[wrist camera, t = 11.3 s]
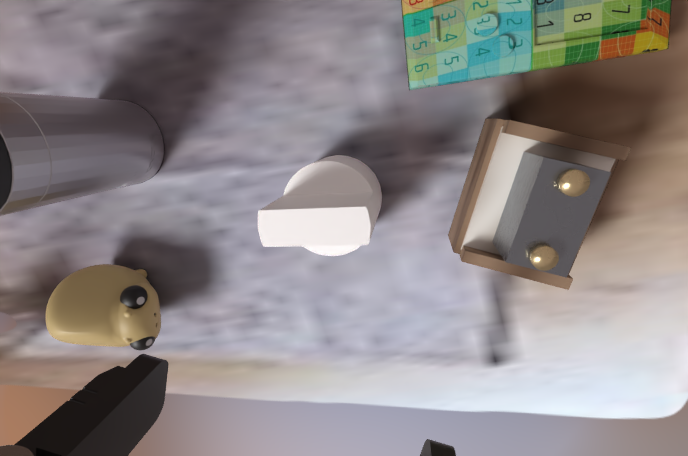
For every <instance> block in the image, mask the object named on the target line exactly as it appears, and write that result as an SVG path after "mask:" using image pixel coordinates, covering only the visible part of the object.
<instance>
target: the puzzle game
mask: <svg viewBox="0 0 688 456" xmlns="http://www.w3.org/2000/svg"><path fill="white" fill-rule="evenodd" d="M671 1H672V0H401V5H402V17H403V28H404V39H405V50H406V61H407V72H408V83H409V90H414V89H421V88H427V87H433V86H440V85H446V84H453V83H459V82H465V81H472V80H478V79H484V78H491V77H497V76H504V75H510V74H516V73H523V72H529V71H535V70H542V69H548V68H555V67H561V66H567V65H574V64H580V63H586V62H593V61H599V60H606V59H612V58H618V57H625V56H631V55H638V54H644V53H650V52H656V51H661V50H665V49H668V45H669V30H670V16H671Z"/></svg>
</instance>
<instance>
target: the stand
mask: <svg viewBox="0 0 688 456" xmlns="http://www.w3.org/2000/svg"><path fill="white" fill-rule="evenodd" d="M630 150H631V147H627V146H623V145H618V144H614V143H609V142H605V141H600V140H596V139H592V138H587V137H583V136H578V135H574V134H570V133H565V132H561V131H556V130H552V129H547V128H543V127H539V126H534V125H530V124H525V123H521V122H517V121H512V120H502V119H485V122H484V125H483V128H482V131H481V134H480V138H479V141H478V144H477V147H476V150H475V153H474V156H473V159H472V162H471V166H470V169H469V172H468V175H467V178H466V181H465V184H464V187H463V190H462V194H461V197H460V200H459V203H458V206H457V209H456V212H455V215H454V218H453V222H452V225H451V228H450V231H449V234H448V236H449V239H450V242H451V246H452V249H453V252H454V253H458V254H460V258H461V261H462V262H466V263H470V264H473V265H477V266H481V267H485V268H488V269H492V270H496V271H500V272H503V273H507V274H511V275H515V276H519V277H522V278H526V279H530V280H534V281H537V282H541V283H545V284H549V285H552V286H556V287H560V288H564V289H568V290H569V287H570V285H571V283H572V281H573V278H572V277H571V276H569V273H568V276H567V278H566V277H562V276H558V275H554V274H550V273H546V272H542V271H538V270H534V269H530V268H526V267H522V266H519V265H515V264H511V263H507V262H505V261H504V259H503V258H502V256H501V255H500V253H499V252H498V250H497V249H496V247H495V246H494V244H493V243H492V241H493V238H494V235H495V233H496V230H497V227H498V224H499V221H500V218H501V215H502V213H503V210H504V207H505V204H506V201H507V198H508V195H509V192H510V190H511V187H512V184H513V181H514V178H515V175H516V172H517V170H518V167H519V164H520V161H521V158H522V155H523V152H528V153H532V154H537V155H541V156H546V157H550V158H555V159H559V160H564V161H568V162H573V163H577V164H582V165H585V166H589V167H593V168H597V169H601V170H604V171H608V172H611V174H610V177H609V179H608V181H607V184H606V186H605V188H604V191H603V193H602V196H601V198H600V200H599V203H598V205H597V207H596V210H595V212H594V214H593V217H592V219H591V221H590V224H589V226H588V228H587V231H588V229H589V227H590V225H591V222H592V220H593V218H594V215H595V213H596V211H597V209H598V206H599V204H600V202H601V199H602V197H603V195H604V193H605V190H606V188H607V186H608V184H609V181H610V179H611V177H612V174H613V172H614V170H615V168H616V165H617V163H618V161H619V160H624V161H626V159H627V157H628V155H629V152H630ZM587 231H586V233H585V236H586V234H587ZM585 236H584V238H585ZM584 238H583V240H582V243H583V241H584ZM582 243H581V245H582ZM581 245H580V247H581ZM580 247H579V250H580ZM579 250H578V252H579ZM578 252H577V254H578ZM577 254H576V256H577ZM575 259H576V257H575ZM575 259H574V261H575ZM574 261H573V263H574ZM572 266H573V264H572ZM572 266H571V268H572ZM571 268H570V270H571ZM569 272H570V271H569Z"/></svg>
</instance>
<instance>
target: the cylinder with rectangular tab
mask: <svg viewBox="0 0 688 456" xmlns="http://www.w3.org/2000/svg"><path fill="white" fill-rule="evenodd" d="M381 203H382V192H381V187H380V184H379V181H378V179H377V177H376V175H375V174H374V173H373V171H372V170H371V169H370V168H369V167H368V166H367V165H366V164H364V163H363V162H361V161H360V160H358V159H355V158H353V157H350V156H343V155H334V156H329V157H325V158H323V159H321V160H318V161H316V162H314V163H312V164H310V165H308V166H306V167H304V168H302V169H300V170H299V171H298V172H297V173H296V174H295V175H294V176H293V177H292V178H291V180H290V181H289V183H288V185H287V186H286V188H285V191H284V195H283V196H282V197H281V198H279V199H277V200H276V201H274V202H272V203H271V204H269V205H267V206H266V207H264V208H262V209H261V210H259V212H258V231H259V235H260V238H261V242H262V244H263V246H264V247H282V246H303V247H305V248H306V249H308V250H309V251H312V252H314V253H317V254H320V255H327V256H337V255H344V254H347V253H349V252H351V251H354V250H356V249H357V248H358V247H360V246H361V245H368V244H369V241H370V238H371V235H372V232H373V229H374V226H375V223H376V221H377V218H378V215H379V212H380V209H381Z"/></svg>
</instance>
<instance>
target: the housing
mask: <svg viewBox="0 0 688 456" xmlns="http://www.w3.org/2000/svg"><path fill="white" fill-rule="evenodd" d="M610 174H611V172H608V171H604V170H601V169H597V168H593V167H589V166H585V165H582V164H577V163H573V162H568V161H564V160H559V159H555V158H550V157H546V156H541V155H537V154H532V153H528V152H523V155H522V158H521V161H520V164H519V167H518V170H517V172H516V175H515V178H514V181H513V184H512V187H511V190H510V192H509V195H508V198H507V201H506V204H505V207H504V210H503V213H502V215H501V218H500V221H499V224H498V227H497V230H496V233H495V235H494V238H493V241H492V243H493V244H494V246H495V247H496V249H497V250H498V252H499V253H500V255H501V256H502V258H503V259H504V261H505V262H507V263H511V264H515V265H519V266H522V267H526V268H530V269H534V270H538V271H542V272H546V273H550V274H554V275H558V276H562V277H566V278H567V276H568V273H569V271H570V268H571V266H572V264H573V261H574V259H575V257H576V254H577V252H578V250H579V247H580V245H581V243H582V240H583V238H584V236H585V233H586V231H587V228H588V226H589V224H590V221H591V219H592V217H593V214H594V212H595V210H596V207H597V205H598V203H599V200H600V198H601V196H602V193H603V191H604V188H605V186H606V184H607V181H608V179H609V177H610Z"/></svg>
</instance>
